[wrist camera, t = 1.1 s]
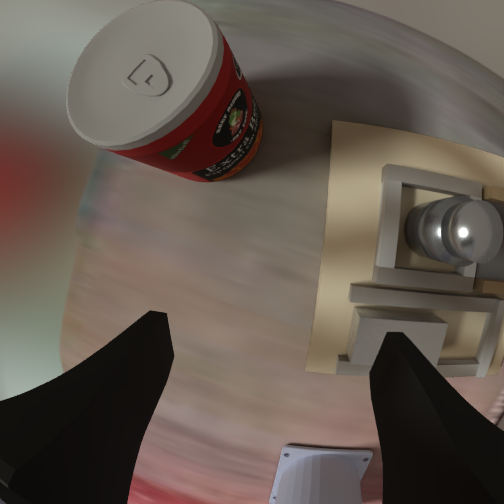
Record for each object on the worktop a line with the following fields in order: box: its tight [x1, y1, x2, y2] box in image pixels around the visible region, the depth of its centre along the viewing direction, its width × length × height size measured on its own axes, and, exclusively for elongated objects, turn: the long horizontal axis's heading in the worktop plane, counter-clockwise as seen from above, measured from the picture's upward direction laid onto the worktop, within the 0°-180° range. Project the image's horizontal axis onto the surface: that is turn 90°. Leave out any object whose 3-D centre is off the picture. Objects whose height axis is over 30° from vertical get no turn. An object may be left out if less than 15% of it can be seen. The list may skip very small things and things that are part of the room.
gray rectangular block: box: [346, 307, 448, 367], centre depth 17 cm, size 3×6×2 cm, turn 84°
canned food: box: [66, 0, 263, 182], centre depth 15 cm, size 8×8×11 cm
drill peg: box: [404, 195, 503, 267], centre depth 13 cm, size 4×4×7 cm
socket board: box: [305, 120, 504, 378], centre depth 16 cm, size 17×17×3 cm
